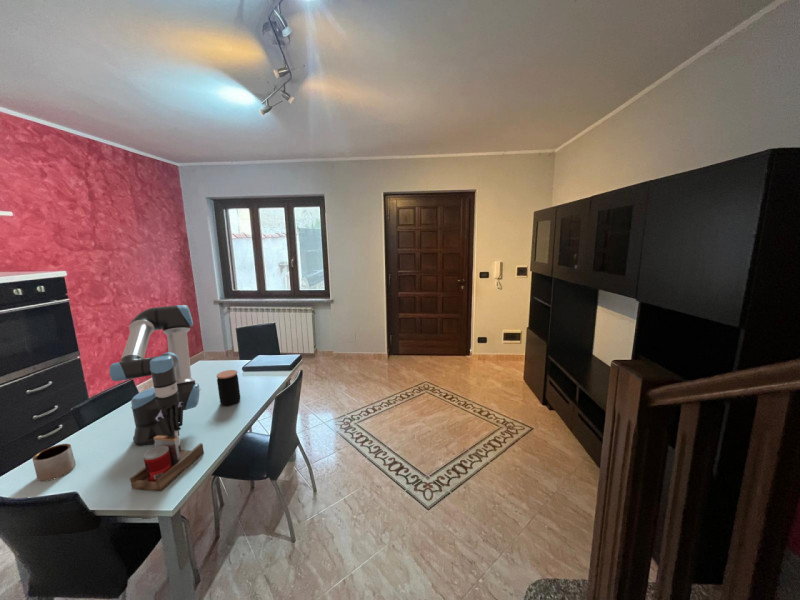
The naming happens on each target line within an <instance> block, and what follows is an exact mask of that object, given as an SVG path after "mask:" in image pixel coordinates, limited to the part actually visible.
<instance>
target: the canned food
mask: <svg viewBox="0 0 800 600" xmlns="http://www.w3.org/2000/svg"><path fill="white" fill-rule="evenodd" d="M143 462H144V467H146V472H147V477H148V480H149V481H153V482H156V480H157V479H158V478H160V477H161V476H162V475H163V474H164V473H165V472H167V471H168V470H169V469H170V468H171V467H172V463H171V458H170V452H169V448H168V446H165V445H163V446H158V447H156V446H155V447H152V448H150V449H149V450H147V451H146V452H145V453H144V454H143Z"/></svg>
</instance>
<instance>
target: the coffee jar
mask: <svg viewBox="0 0 800 600" xmlns="http://www.w3.org/2000/svg"><path fill="white" fill-rule="evenodd" d="M216 378H217V379H216V382H217V390H218V398H219V403H220V405H222V407H224V406H225V407H229V406H234V405H236V404H237V403H239V402H240V400H241V390H240V384H239V376H238V370H235V369H228V370H223V371H220V372H218V373H217V374H216Z"/></svg>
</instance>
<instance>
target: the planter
mask: <svg viewBox="0 0 800 600" xmlns="http://www.w3.org/2000/svg"><path fill="white" fill-rule="evenodd" d="M32 462H33V463H32V464H33V467H34V471H35V475H36V478H37V480H38V481H39V480H40V482H44V481H45V482H46V480H48V481H52V480H51V479H53V480H55V479H54V478H56V479H58V478H60V476H61V477H63V476H65V475H66V474H68V473H70V472H71V471H72V470H73V469H74V468H75V467H76V465H77V464H76V460H75V457H74V452H73V449H72V445H71V444H70V443H60V444H57V445H56V444H55V445H53V446H50V447H47V448H45V449H43V450H41V451H39V452H37V453H36V454H35V455H34V456H32ZM64 474H65V475H64ZM62 475H63V476H62ZM57 477H58V478H57Z"/></svg>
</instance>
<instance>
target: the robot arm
mask: <svg viewBox="0 0 800 600" xmlns="http://www.w3.org/2000/svg"><path fill="white" fill-rule="evenodd" d="M193 326H194V319H193V317H192V313H191V310H190V307H189V306H188V305H186V304H182V305H181V304H180V305H179V304H177V305H168V306H166V305H165V306H157V307H150V308H147V309H145V310H143V311H141V312H139V313H137V315H136V316H134V317H133V319H132V320H131V322H130V324H129V327H128V330H129V335H128V338H127V340H126V344H125V346H124V350H123V353H122V356H121V359H120V361H117V362H114V363H111V364H110V366H109V377H110V379H111V380H112V381H113V382H118V381H119V382H120V381H128V380H133V379H138V378H142V377H150V376H151V379H152V385H153V387H151V388H149V389H146V390H142V391H140V392H138V393H137V394H135V395H134V396H133V397H132V398H131V403H130V404H131V409H132V415H133V420H134V425H135V428H134V435H133V439H132V442H133V444H134V446H137V447H145V446H146V447H147V446H150V445H155V441H154V437H155V436H157V435H159V436H175V437H177V442H178V446H179V445H180V446H181V442H180V436H181V435H180V430H181V429H182V426H183V422H184V421H183V420H184V411H187V410H190V409H191V410H192V409H194V408H196V407H197V406H198V405H199V399H200V390H199V387H200V384H199V383H196V380H195V379H193V378H192V374H191V373H192V372H191V371H192V370H191V361H190V360H191V359H190V351H189V350H190V349H189V348H190V347H189V338H188V332H190V330H191V327H193ZM158 330H159V331H160V330H162V331H163V334H165V335H166V336H167V337H166V338H167V351H168V352H164V353H162V354H161V355H158V356H152V357H146V352H147V348H148V346H149V345H148V344H149V340H150V337H151V334H153V333H154V331H158ZM145 357H146V358H145Z"/></svg>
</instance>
